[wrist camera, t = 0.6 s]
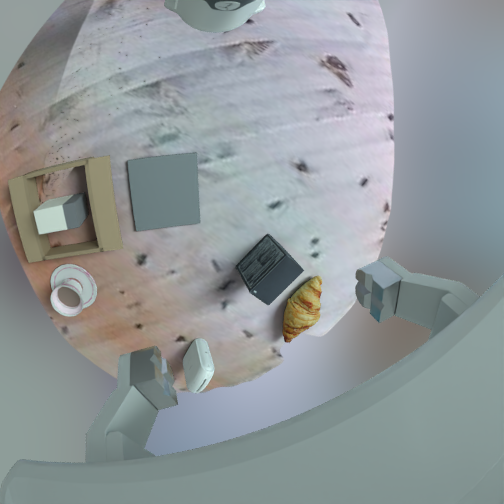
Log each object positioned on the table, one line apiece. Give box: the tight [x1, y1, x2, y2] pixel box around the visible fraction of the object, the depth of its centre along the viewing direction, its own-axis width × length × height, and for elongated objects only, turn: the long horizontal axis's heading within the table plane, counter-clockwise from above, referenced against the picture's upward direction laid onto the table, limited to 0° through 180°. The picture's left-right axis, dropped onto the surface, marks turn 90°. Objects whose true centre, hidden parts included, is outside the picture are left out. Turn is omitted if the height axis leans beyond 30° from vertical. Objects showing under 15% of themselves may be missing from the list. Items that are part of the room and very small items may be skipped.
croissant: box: [283, 276, 322, 342], centre depth 70 cm, size 21×10×8 cm
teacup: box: [51, 264, 97, 316], centre depth 49 cm, size 12×12×6 cm
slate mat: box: [128, 153, 200, 231], centre depth 49 cm, size 14×13×1 cm
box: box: [33, 192, 89, 235], centre depth 41 cm, size 4×9×7 cm, turn 89°
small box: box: [236, 234, 304, 305], centre depth 58 cm, size 11×6×10 cm, turn 134°
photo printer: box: [183, 338, 214, 393], centre depth 64 cm, size 10×4×12 cm, turn 148°
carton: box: [8, 155, 123, 263], centre depth 42 cm, size 18×23×4 cm
